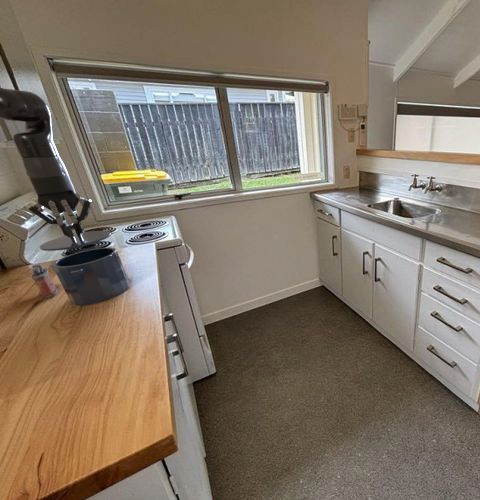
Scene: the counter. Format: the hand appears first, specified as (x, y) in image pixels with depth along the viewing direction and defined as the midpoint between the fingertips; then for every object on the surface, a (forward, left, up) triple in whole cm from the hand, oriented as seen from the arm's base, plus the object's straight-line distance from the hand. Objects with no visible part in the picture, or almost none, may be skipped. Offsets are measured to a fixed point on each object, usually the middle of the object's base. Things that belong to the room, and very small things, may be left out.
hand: (75, 235), depth 82 cm
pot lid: (0, 0, -2) cm, 2 cm away
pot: (0, 0, -19) cm, 19 cm away
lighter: (-15, +9, -20) cm, 26 cm away
